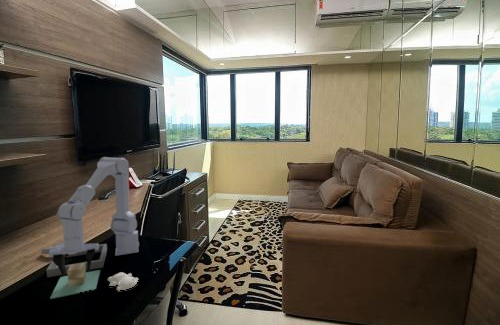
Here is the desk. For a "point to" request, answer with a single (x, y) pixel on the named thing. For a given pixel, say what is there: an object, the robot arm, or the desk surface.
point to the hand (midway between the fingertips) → (76, 271)
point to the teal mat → (64, 289)
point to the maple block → (76, 274)
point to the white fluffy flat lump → (123, 281)
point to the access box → (55, 271)
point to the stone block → (53, 247)
